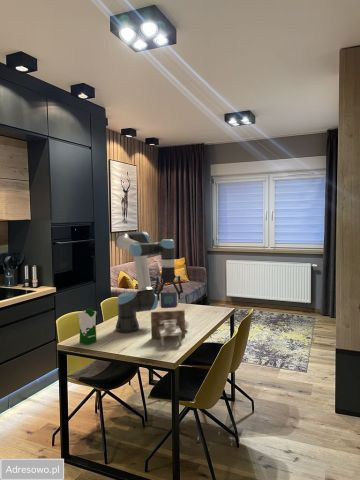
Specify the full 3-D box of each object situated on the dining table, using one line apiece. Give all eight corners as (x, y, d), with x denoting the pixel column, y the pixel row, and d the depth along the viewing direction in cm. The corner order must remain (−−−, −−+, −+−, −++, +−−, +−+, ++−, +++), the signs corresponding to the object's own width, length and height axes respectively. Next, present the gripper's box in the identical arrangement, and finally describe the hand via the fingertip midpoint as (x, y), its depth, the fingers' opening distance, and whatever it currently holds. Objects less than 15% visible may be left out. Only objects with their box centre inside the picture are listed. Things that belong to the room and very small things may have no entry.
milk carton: (86, 345, 208) (85, 311, 207) (77, 342, 214) (75, 308, 212) (99, 341, 215) (97, 307, 213) (89, 338, 220) (88, 305, 219)
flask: (176, 306, 212) (176, 288, 211) (177, 307, 209) (176, 289, 208) (160, 307, 211) (160, 288, 210) (160, 308, 208) (160, 289, 207)
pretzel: (191, 328, 237) (190, 314, 236) (186, 334, 225) (186, 320, 225) (174, 327, 240) (174, 314, 239) (168, 333, 228) (168, 319, 228)
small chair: (153, 347, 203) (153, 319, 202) (151, 338, 219) (150, 311, 218) (189, 344, 206) (188, 316, 205) (184, 336, 222) (184, 310, 221)
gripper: (149, 268, 203) (150, 308, 205) (188, 266, 206) (188, 306, 208) (148, 266, 211) (149, 305, 212) (185, 265, 214) (186, 303, 215)
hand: (168, 305), depth 210 cm, fingers closed on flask, 9 cm apart
